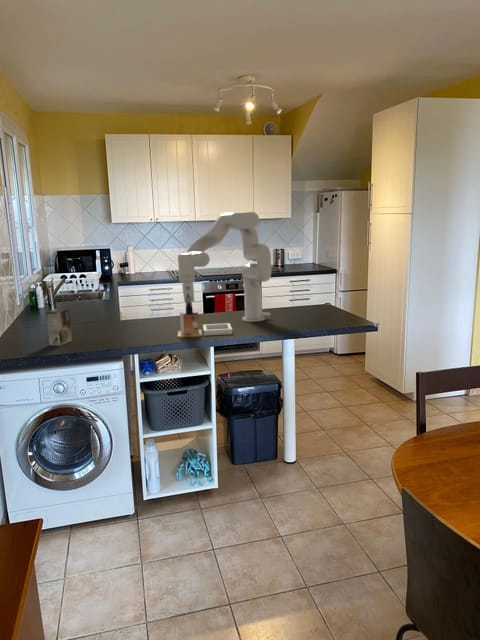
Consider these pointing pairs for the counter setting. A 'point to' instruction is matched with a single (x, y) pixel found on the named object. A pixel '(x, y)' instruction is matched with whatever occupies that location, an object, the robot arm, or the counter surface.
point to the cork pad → (189, 334)
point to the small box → (189, 323)
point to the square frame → (217, 329)
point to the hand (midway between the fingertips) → (189, 312)
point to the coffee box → (59, 327)
